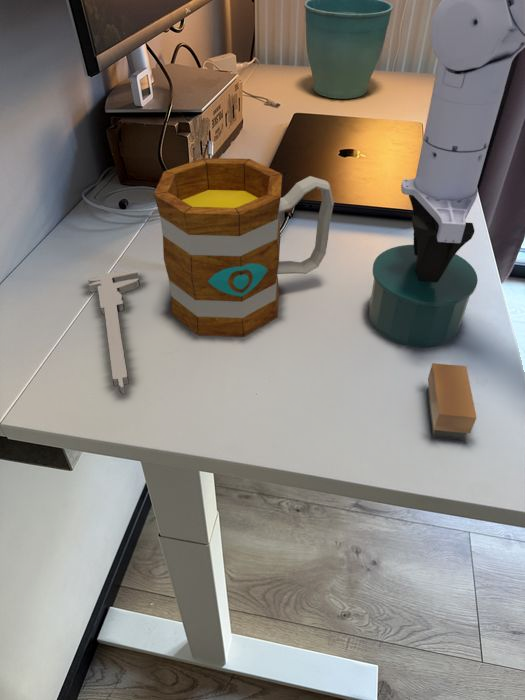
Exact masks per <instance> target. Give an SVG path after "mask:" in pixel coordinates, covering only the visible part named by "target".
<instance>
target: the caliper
mask: <svg viewBox="0 0 525 700" xmlns="http://www.w3.org/2000/svg"><path fill="white" fill-rule="evenodd" d="M96 276H97V277H95V278H90V279H88V280H87V281H88V288H89V291H90V293H93V292H98V299H99V307H100V312H101V314H102V315H104V318H105V325H106V326H105V327H106V335H107V343H108V351H109V360H110V368H111V375H112V382H113V385H114V387H118V388H119V391H120V393H122V395H125V394H126V388H125V385H128V384H129V383H130V379H129V373H128V368H127V363H126V362H127V361H126V356H125V355H126V354H125V349H124V343H123V335H122V330H121V329H122V328H121V322H120V315H119V312H123V311H125V304H124V298H123V295H122V294H124V293H127V292H130V291H132V290H135V289H138V288H139V287H141V282H140V277H139V273H138V271H137V270H124V271H121V270H120V271H112V272H111V271H110V272H107V273H102V274H97V275H96Z"/></svg>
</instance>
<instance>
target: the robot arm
mask: <svg viewBox="0 0 525 700" xmlns="http://www.w3.org/2000/svg"><path fill="white" fill-rule="evenodd" d="M429 35H430V36H429V37H430V43H431V49H432V51H433V53H434V56H435V57H436V58H437V60H438V61H437V66H436V71H435V75H434V82H433V85H432V86H433V87H432V92H431V97H430V102H429V108H428V112H427V118H426V122H425V128H424V133H423V137H422V143H421V148H420V153H419V157H418V163H417V168H416V172H415V173H416V174H415V177H414V178H405V179H402V181H401V185H400V186H401V187H400V191H401V193H402V194H403V195H407V196H408V198H409V200H410V204H411V208H412V213H413V214H412V216H411V223H412V229H413V245H414V253H415V255H417V277H418V281H424V282H438V281H439V279H440V278H441V276H442V275H443V273H444V271H445V270H446V268H447V266H448V264H449V263H450V261H451V259H452V258H453V256H454V255H455V254H456V255H457V252H458V251H460V249H461V248H463V246H464V245H465V244H467V243H468V242H469V241H470V240H472V239H473V236H474V234H475V227H474V223H473V222H466V219H467V217H468V216H469V213H470V211H471V209H472V207H473V205H474V203H475V201H476V199H477V196H478V192H479V187H478V184H479V181H480V178H481V174H482V171H483V167H484V165H485V164H484V163H485V159H486V156H487V152H488V149H489V145H490V141H491V138H492V135H493V131H494V127H495V124H496V120H497V117H498V114H499V110H500V106H501V102H502V99H503V96H504V92H505V89H506V88H505V87H506V84H507V81H508V77H509V73H510V70H511V67H512V63H513V62H514V59H515V58H516V56H517V55H518V54H519V53H520V52H521V51H523V50H524V49H525V0H441V1H440V3H438V6H437V7H436V9H435V11H434V13H433V16H432V20H431V24H430V32H429Z"/></svg>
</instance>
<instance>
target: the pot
mask: <svg viewBox="0 0 525 700" xmlns="http://www.w3.org/2000/svg"><path fill="white" fill-rule="evenodd" d="M469 300H470V297H468V298H467V299H465V300H463V301H461V302H459V303H456V304H452V305H447V306H424V305H417V304H413V303H409V302H406V301H403V300H400V299H398V298H396V297H394V296H392V295H390V294H389V293H387V292H386V291H384V290H383V289H382V288H381V287H380V286H379V285H378V284H377V282H376V281H375V279H374V278H373V283H372V288H371V295H370V301H369V311H368V316H369V320H370V322H371V325H372V326H373V327H374V329H375V330H376V331H377V332H378V333H380V334H381V335H382V336H384V337H385V338H386V339H388V340H391V341H393V342H396V343H398V344H401V345H403V346H409V347H416V348H429V347H430V348H431V347H437V346H441V345H443V344H446V343H447V342H449V341H451V340H452V339H454V337H455V336H456V335H457V333H458V332H459V329H460V327H461V325H462V323H463V318H464V316H465V312H466V310H467V306H468V303H469Z"/></svg>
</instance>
